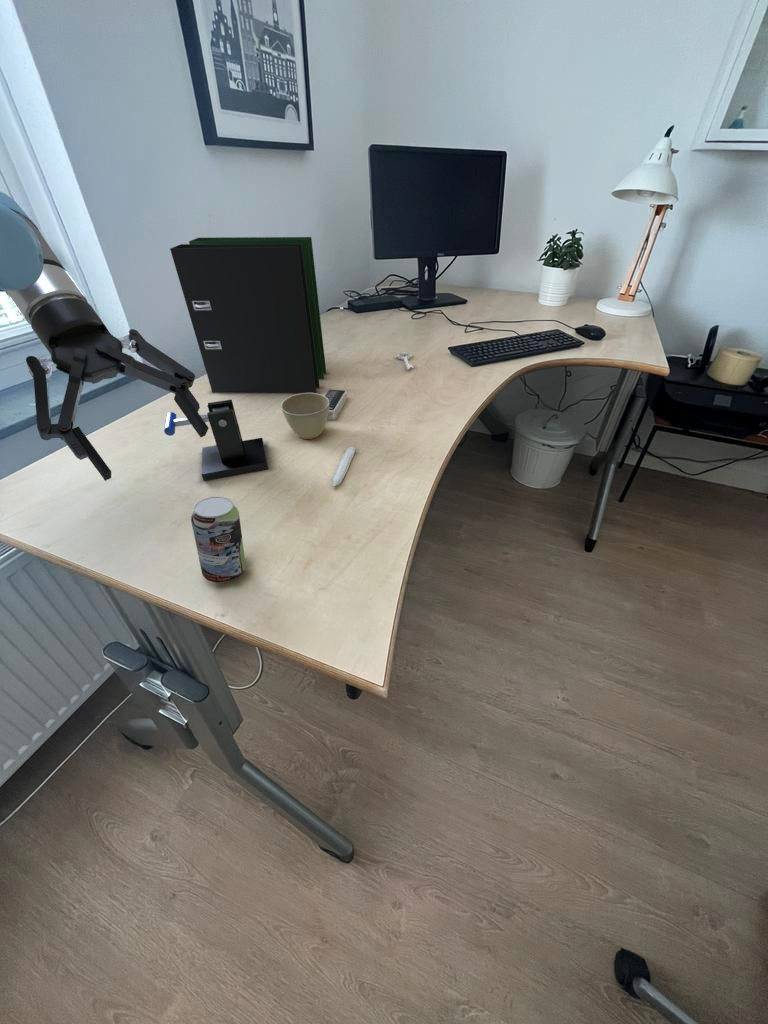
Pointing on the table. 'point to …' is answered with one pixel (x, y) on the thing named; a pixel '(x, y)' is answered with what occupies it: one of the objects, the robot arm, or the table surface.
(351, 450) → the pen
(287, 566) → the table surface
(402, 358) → the key
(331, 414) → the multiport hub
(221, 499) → the beverage can
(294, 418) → the flower pot
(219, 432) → the bracket
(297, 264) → the binder
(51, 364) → the robot arm
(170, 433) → the lever
